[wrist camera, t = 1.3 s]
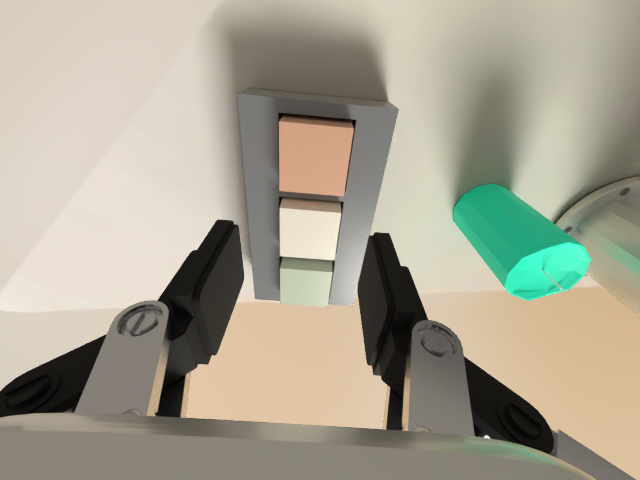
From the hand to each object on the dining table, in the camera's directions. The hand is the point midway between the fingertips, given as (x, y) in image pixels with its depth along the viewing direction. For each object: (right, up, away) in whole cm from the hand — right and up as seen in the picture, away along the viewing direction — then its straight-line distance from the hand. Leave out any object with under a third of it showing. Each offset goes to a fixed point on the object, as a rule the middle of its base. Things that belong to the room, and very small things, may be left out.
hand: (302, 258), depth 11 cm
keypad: (0, +4, +18) cm, 19 cm away
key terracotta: (0, +9, +12) cm, 15 cm away
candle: (+18, +4, +18) cm, 26 cm away
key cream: (0, +3, +16) cm, 17 cm away
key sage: (-1, -3, +20) cm, 21 cm away
